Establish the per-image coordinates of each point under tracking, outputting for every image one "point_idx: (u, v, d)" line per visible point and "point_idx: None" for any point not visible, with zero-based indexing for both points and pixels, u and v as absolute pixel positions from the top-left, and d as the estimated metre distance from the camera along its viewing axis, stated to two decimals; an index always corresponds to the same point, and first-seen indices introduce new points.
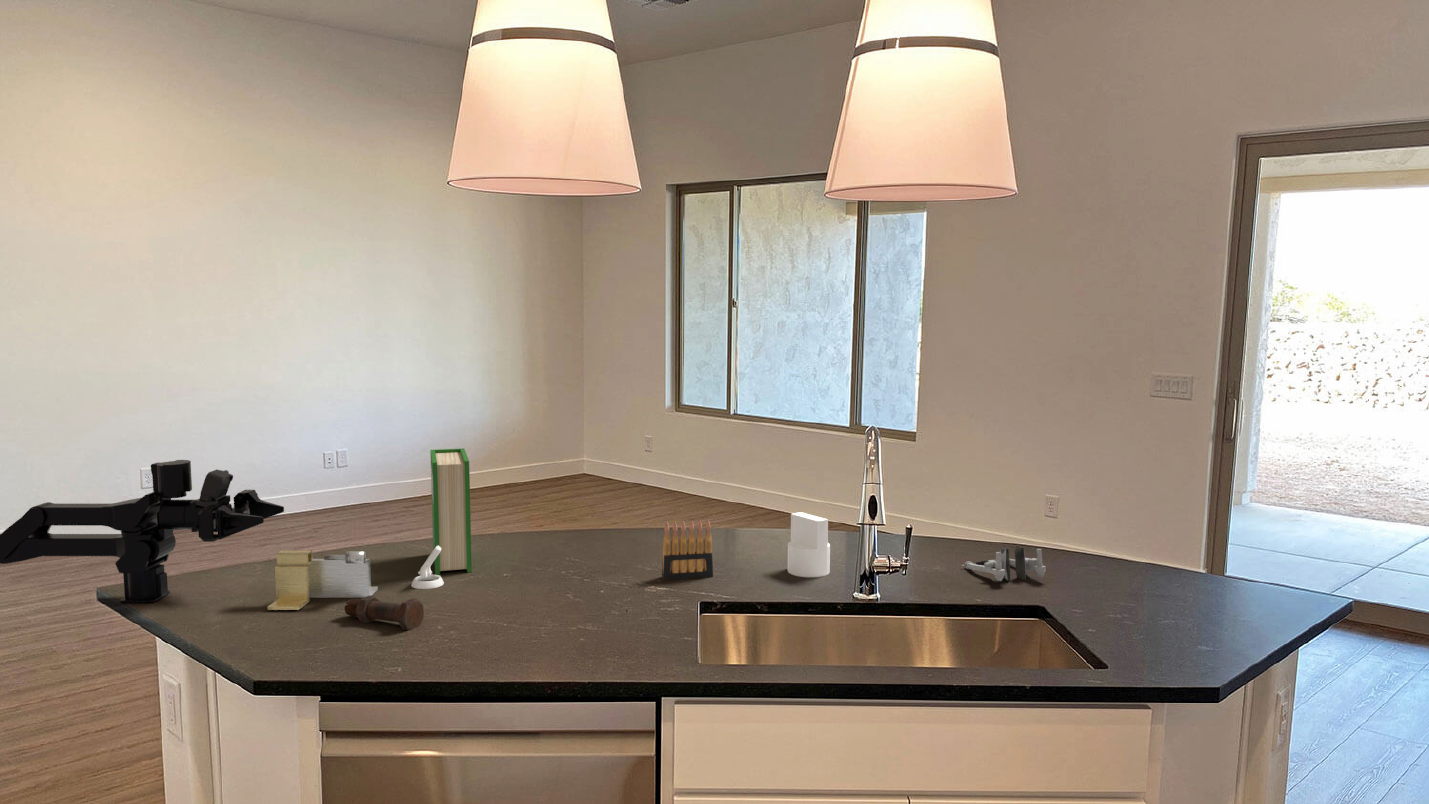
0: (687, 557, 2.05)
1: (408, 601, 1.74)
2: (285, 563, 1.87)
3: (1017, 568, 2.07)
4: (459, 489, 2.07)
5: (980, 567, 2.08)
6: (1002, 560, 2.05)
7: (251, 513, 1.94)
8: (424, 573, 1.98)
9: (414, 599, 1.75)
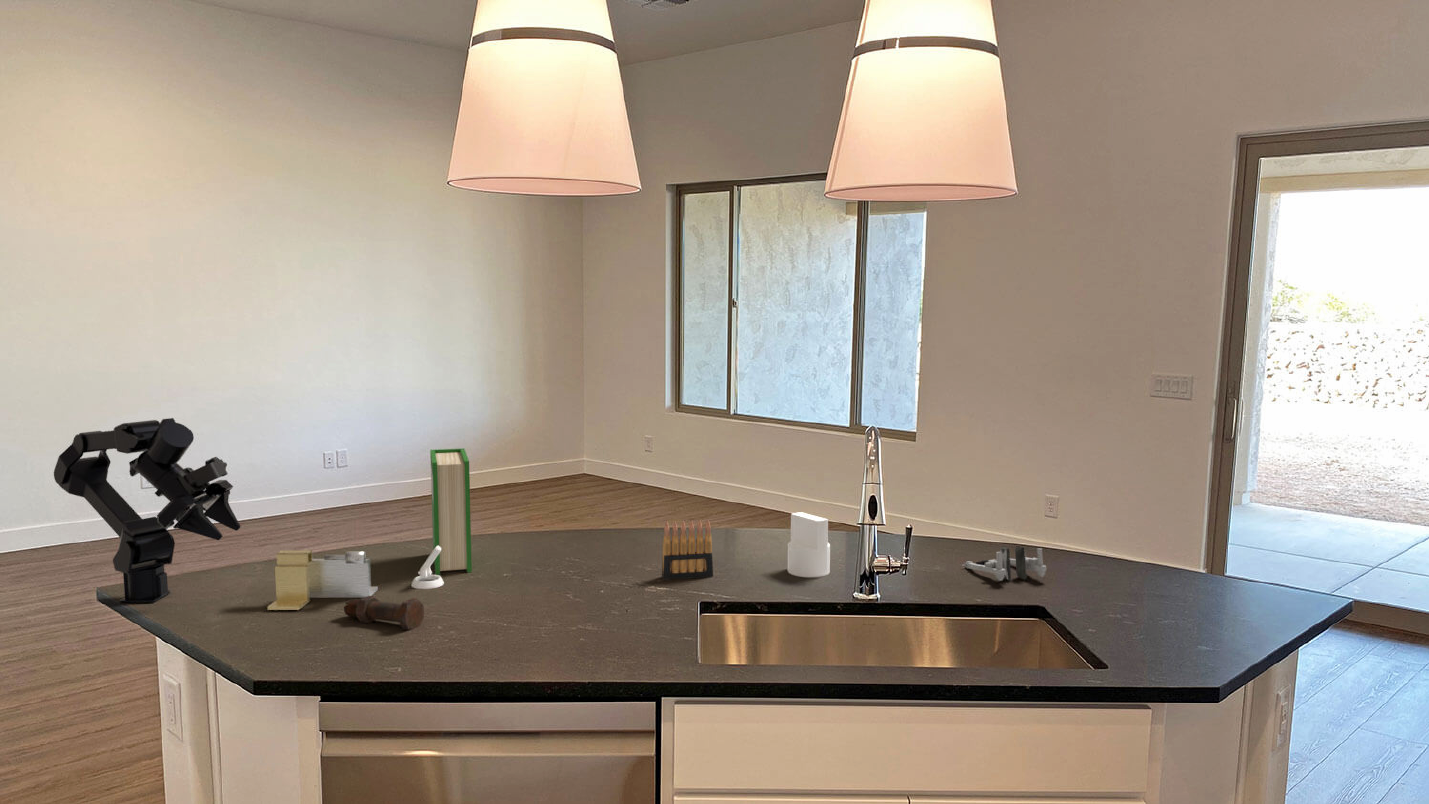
0: (687, 557, 2.05)
1: (408, 601, 1.74)
2: (285, 563, 1.87)
3: (1017, 568, 2.07)
4: (459, 489, 2.07)
5: (981, 567, 2.08)
6: (1003, 560, 2.05)
7: (211, 508, 1.90)
8: (424, 573, 1.98)
9: (414, 599, 1.75)
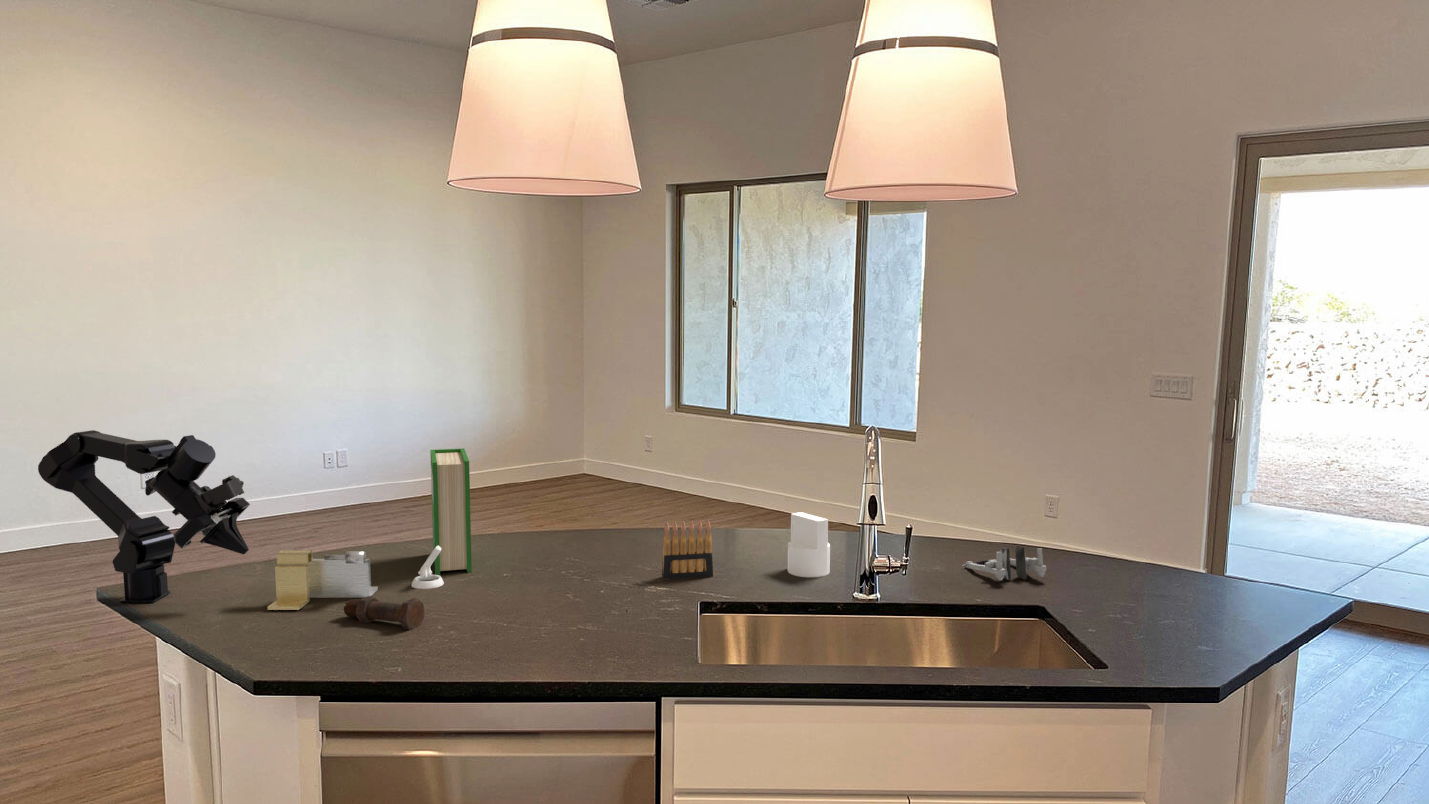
0: (687, 557, 2.05)
1: (409, 601, 1.74)
2: (285, 563, 1.87)
3: (1017, 568, 2.07)
4: (459, 489, 2.07)
5: (981, 567, 2.08)
6: (1003, 560, 2.06)
7: None
8: (424, 572, 1.98)
9: (415, 599, 1.75)
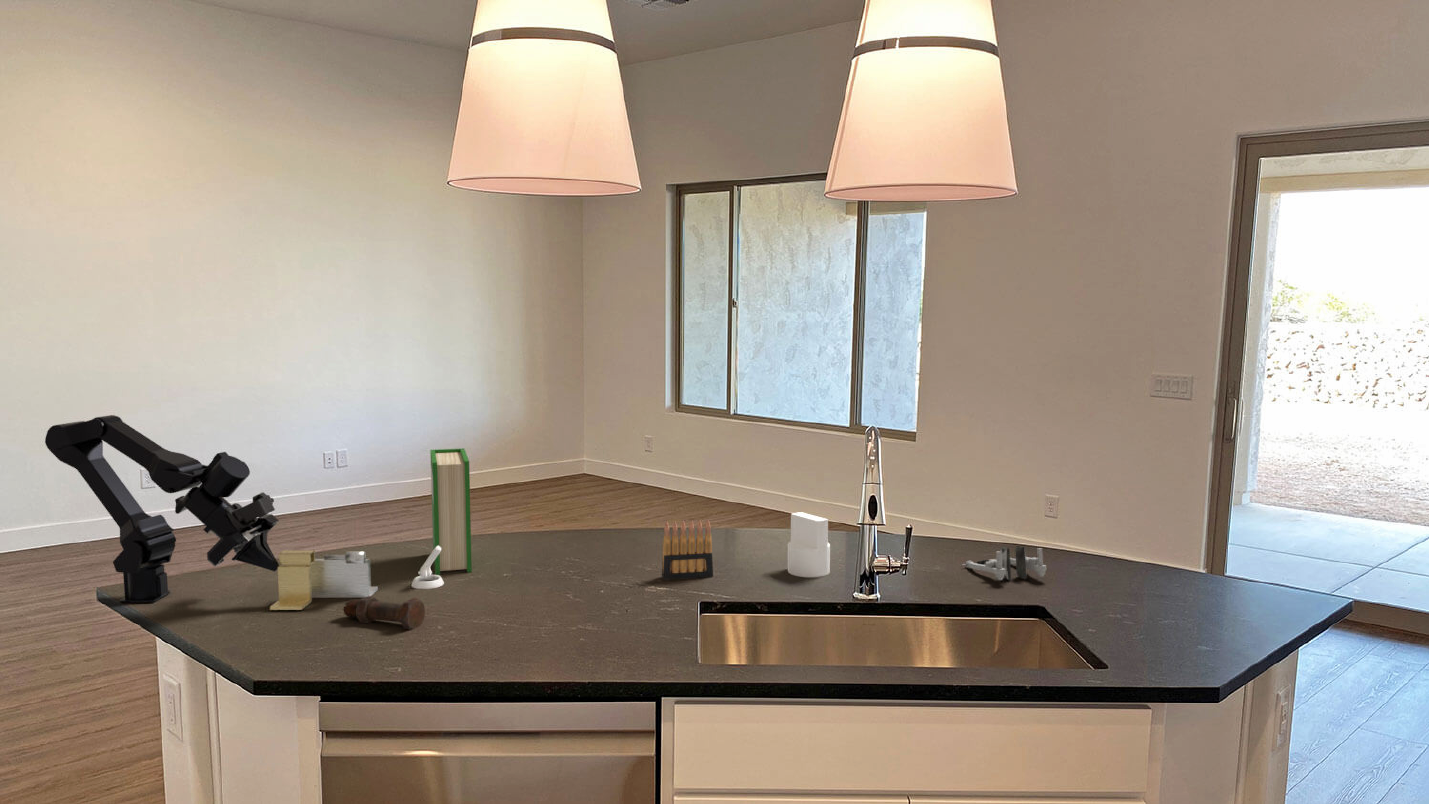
0: (687, 557, 2.05)
1: (410, 601, 1.74)
2: (288, 563, 1.87)
3: (1017, 568, 2.07)
4: (459, 489, 2.07)
5: (981, 566, 2.08)
6: (1003, 559, 2.06)
7: None
8: (424, 572, 1.98)
9: (415, 599, 1.76)
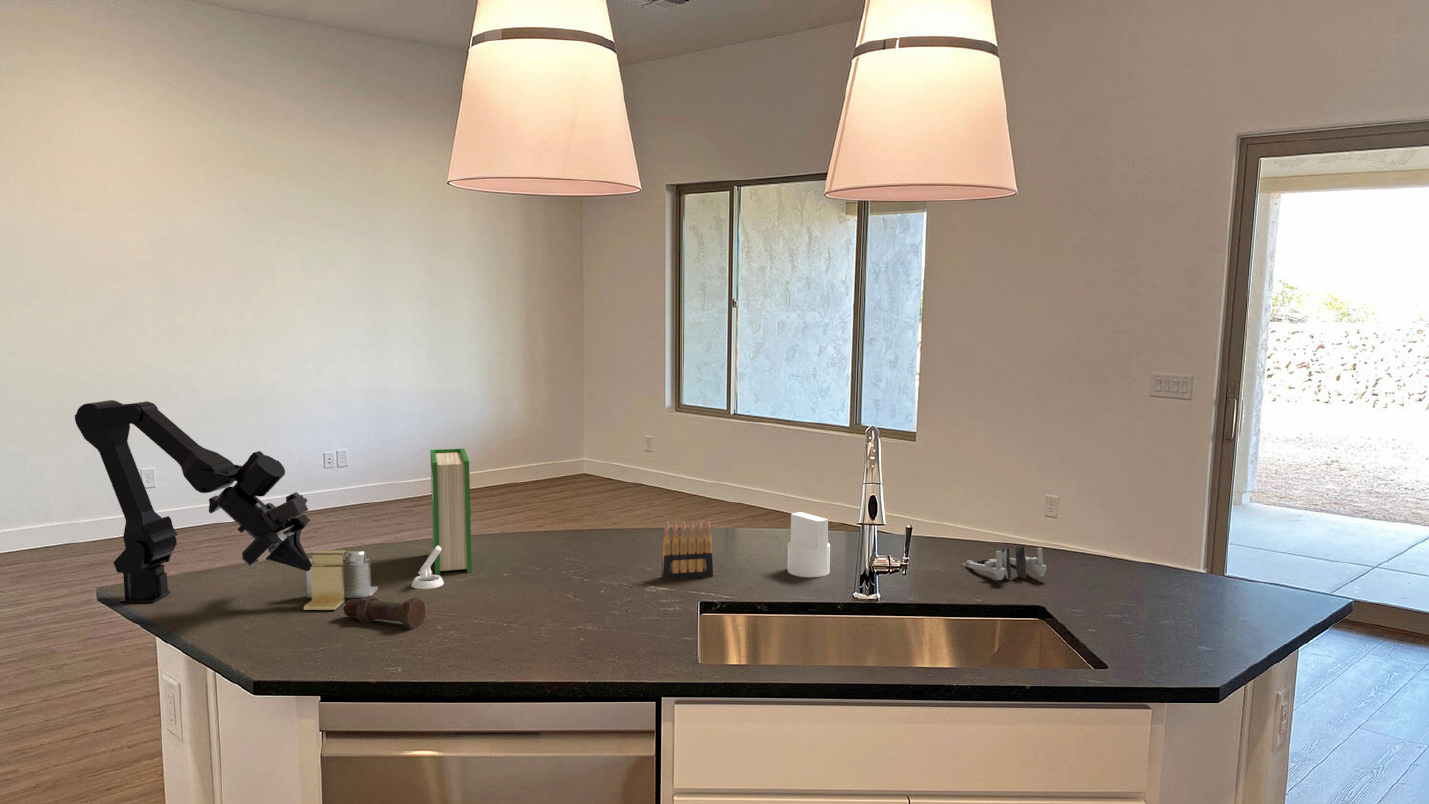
0: (687, 557, 2.05)
1: (410, 600, 1.75)
2: (320, 563, 1.87)
3: (1017, 567, 2.07)
4: (459, 489, 2.07)
5: (981, 566, 2.09)
6: (1003, 559, 2.06)
7: None
8: (424, 572, 1.98)
9: (416, 598, 1.76)
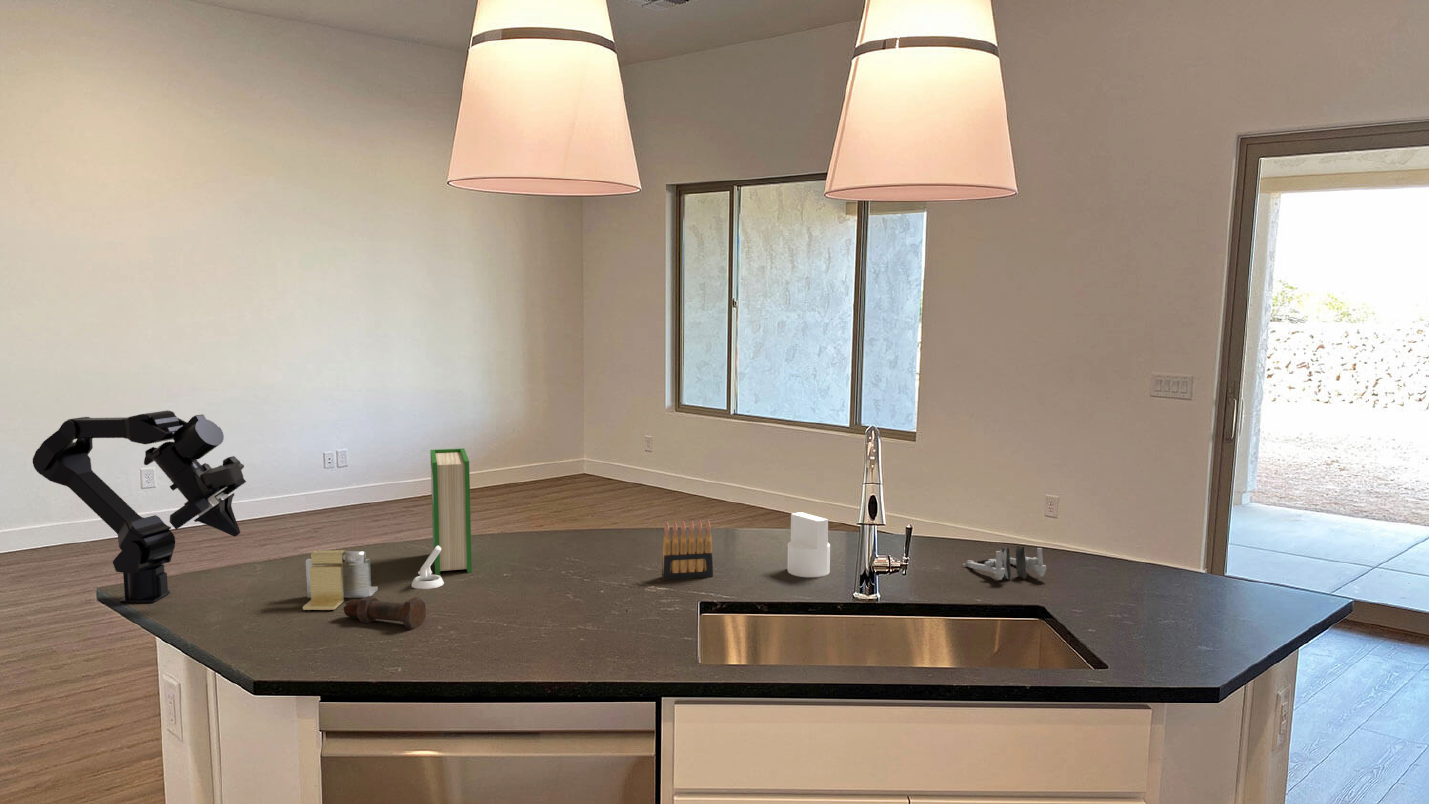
0: (687, 557, 2.05)
1: (411, 600, 1.75)
2: (320, 563, 1.87)
3: (1017, 567, 2.08)
4: (459, 489, 2.07)
5: (981, 566, 2.09)
6: (1003, 559, 2.06)
7: None
8: (424, 572, 1.98)
9: (417, 598, 1.76)
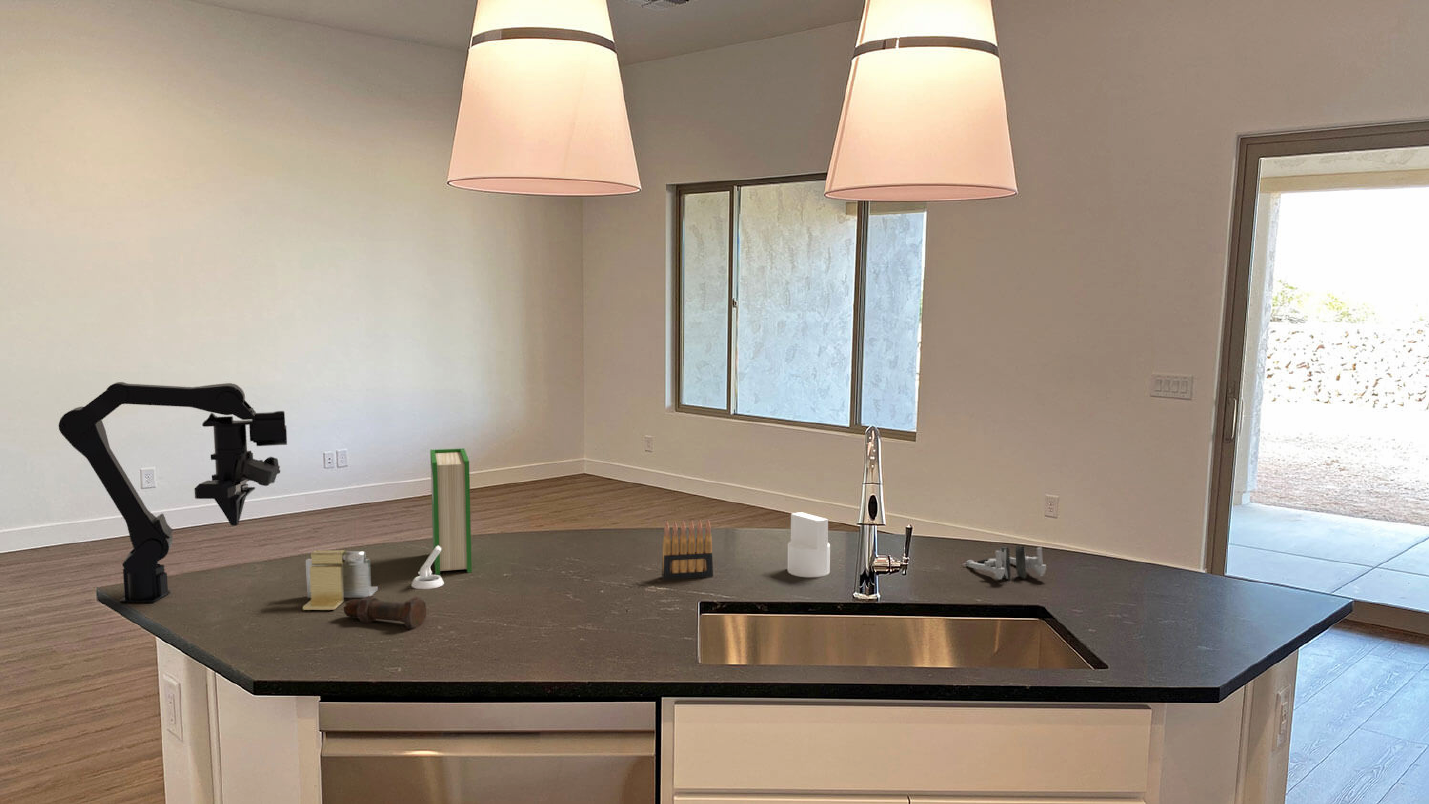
0: (687, 557, 2.05)
1: (412, 600, 1.75)
2: (320, 563, 1.87)
3: (1017, 567, 2.08)
4: (459, 489, 2.07)
5: (981, 565, 2.09)
6: (1002, 559, 2.06)
7: None
8: (424, 572, 1.98)
9: (417, 598, 1.76)
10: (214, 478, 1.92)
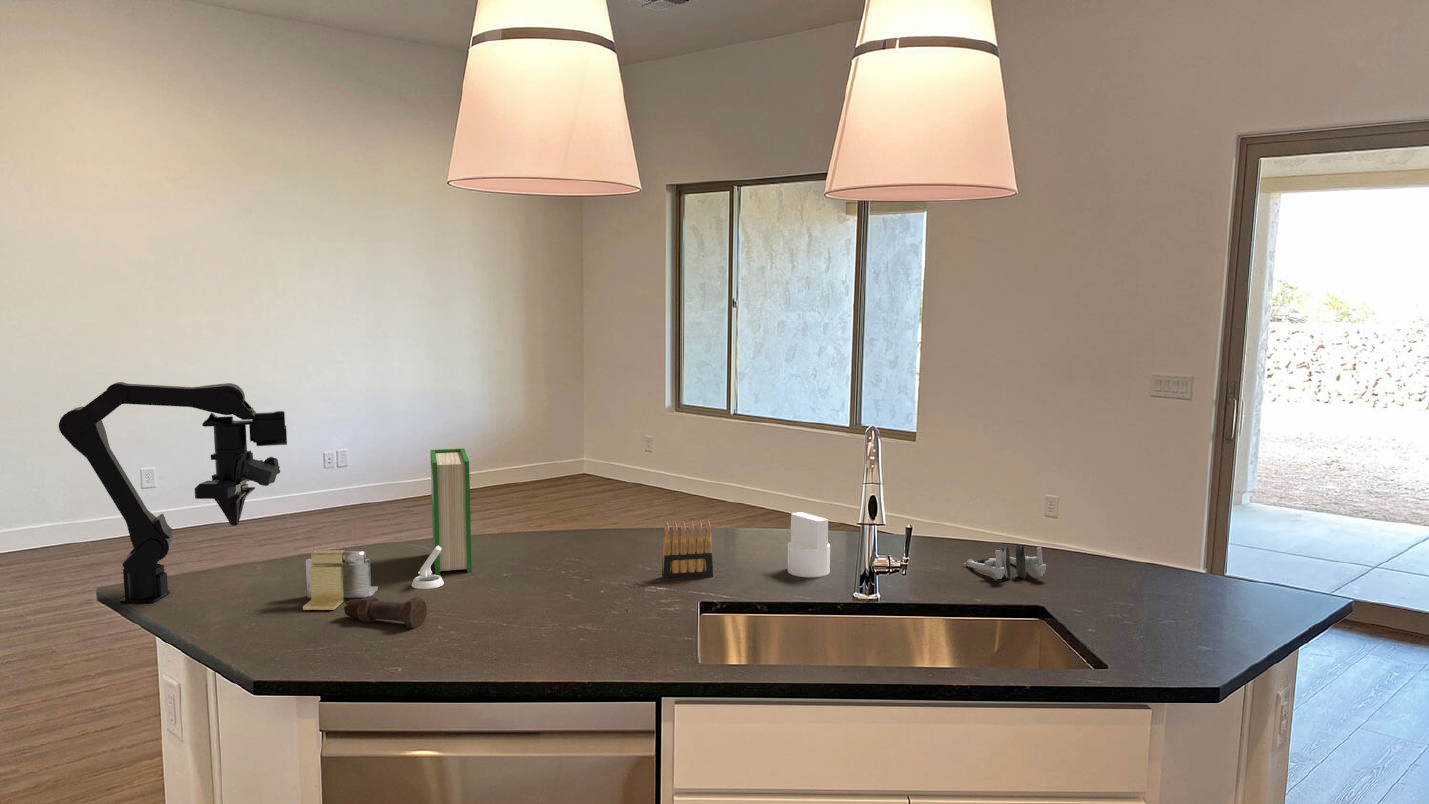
0: (687, 557, 2.05)
1: (412, 600, 1.75)
2: (320, 563, 1.87)
3: (1017, 567, 2.08)
4: (459, 489, 2.07)
5: (981, 565, 2.09)
6: (1002, 558, 2.07)
7: None
8: (424, 572, 1.98)
9: (418, 597, 1.76)
10: (214, 478, 1.92)
